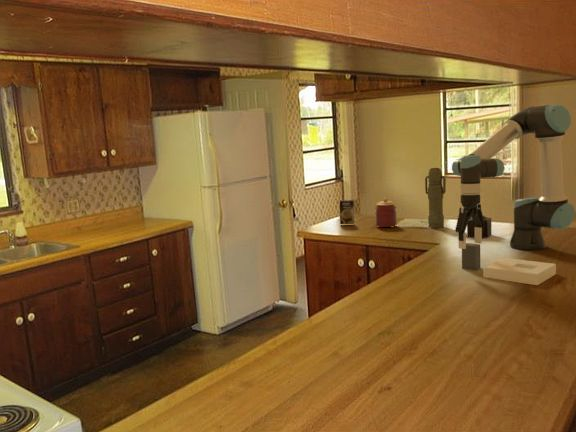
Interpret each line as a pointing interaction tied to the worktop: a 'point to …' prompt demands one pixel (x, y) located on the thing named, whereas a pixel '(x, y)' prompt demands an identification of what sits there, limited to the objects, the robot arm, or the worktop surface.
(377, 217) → the canister
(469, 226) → the manual coffee grinder
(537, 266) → the socket plate
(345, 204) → the coffee box
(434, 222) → the thermos
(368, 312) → the worktop surface
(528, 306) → the worktop surface
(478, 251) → the plug
